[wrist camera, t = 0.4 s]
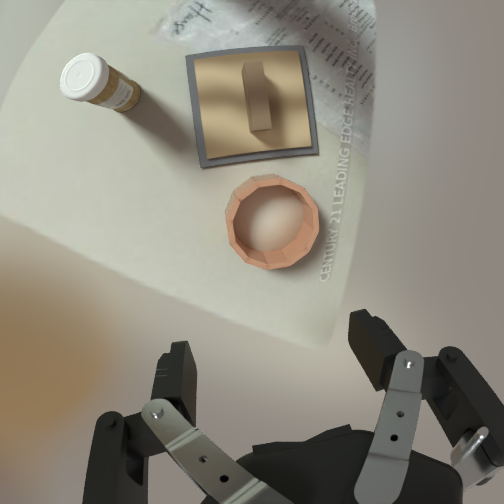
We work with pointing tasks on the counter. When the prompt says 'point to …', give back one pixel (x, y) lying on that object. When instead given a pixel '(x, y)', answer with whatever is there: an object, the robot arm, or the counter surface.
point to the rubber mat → (252, 155)
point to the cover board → (233, 106)
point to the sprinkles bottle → (98, 83)
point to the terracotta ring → (271, 221)
